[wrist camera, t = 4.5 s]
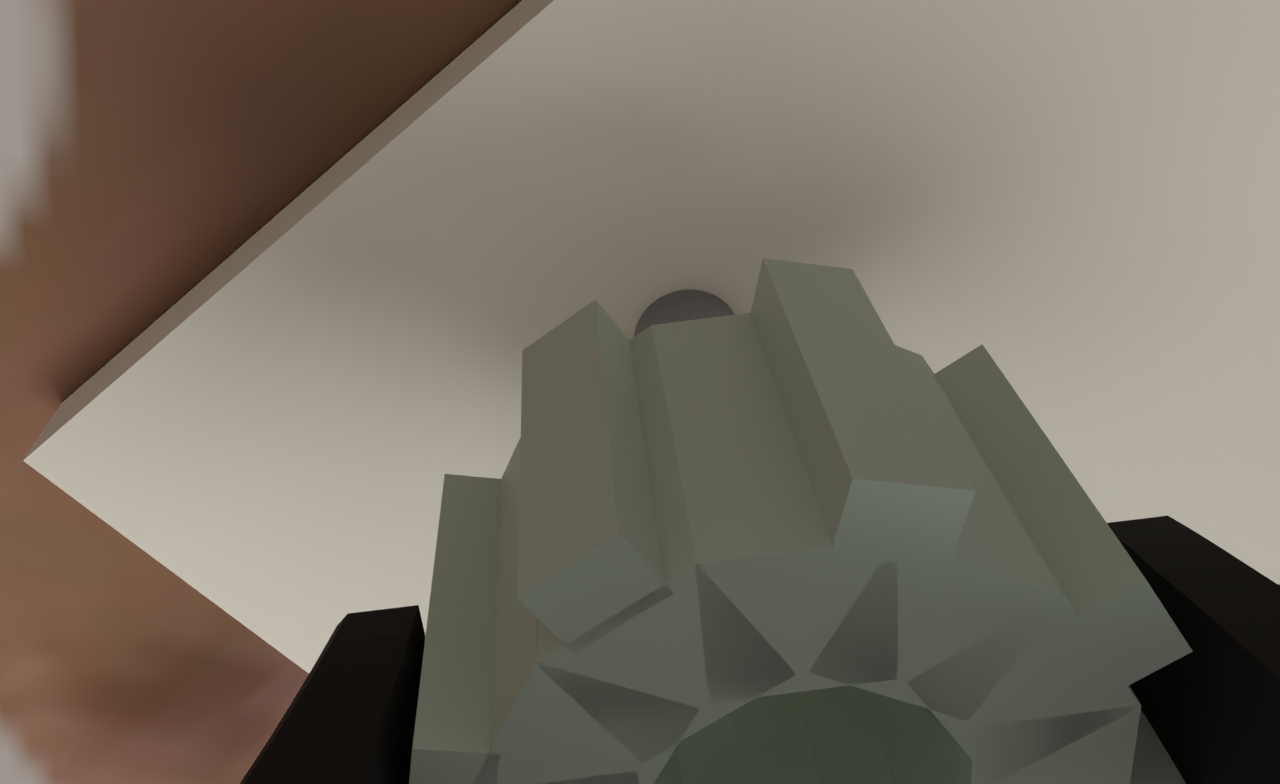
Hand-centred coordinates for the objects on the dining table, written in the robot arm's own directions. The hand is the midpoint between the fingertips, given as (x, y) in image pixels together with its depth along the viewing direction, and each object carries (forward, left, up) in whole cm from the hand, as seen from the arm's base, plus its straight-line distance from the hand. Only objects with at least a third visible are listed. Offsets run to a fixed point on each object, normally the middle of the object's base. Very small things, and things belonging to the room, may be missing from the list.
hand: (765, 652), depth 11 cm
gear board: (-3, -1, -8) cm, 8 cm away
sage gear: (0, 0, -1) cm, 1 cm away
